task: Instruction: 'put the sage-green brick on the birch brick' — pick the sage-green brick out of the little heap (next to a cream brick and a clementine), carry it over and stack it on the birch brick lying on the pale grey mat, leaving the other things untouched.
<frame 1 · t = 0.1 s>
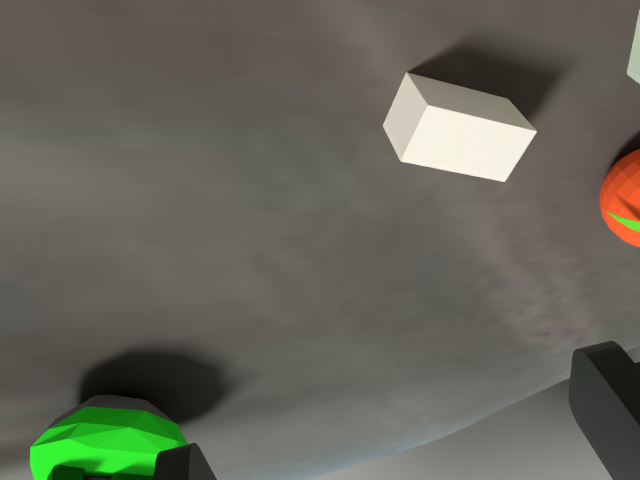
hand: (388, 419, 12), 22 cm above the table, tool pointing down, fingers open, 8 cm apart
clementine: (619, 166, 39), on the table
cream brick: (444, 110, 33), on the table
salad bowl: (115, 405, 48), on the table
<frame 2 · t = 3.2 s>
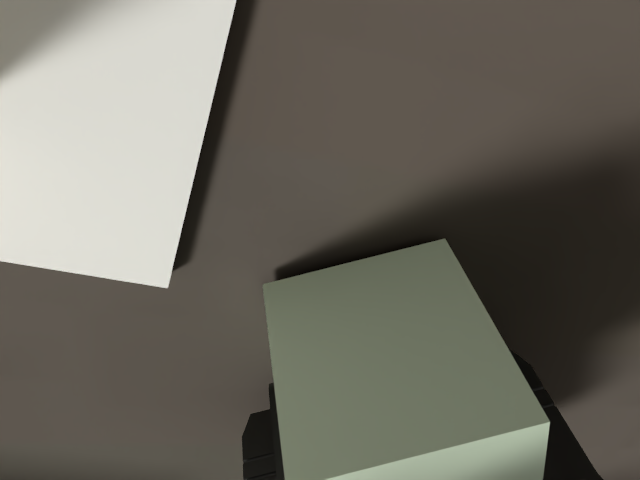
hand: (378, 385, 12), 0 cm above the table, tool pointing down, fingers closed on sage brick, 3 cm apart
sage brick: (377, 377, 12), on the table, touching gripper
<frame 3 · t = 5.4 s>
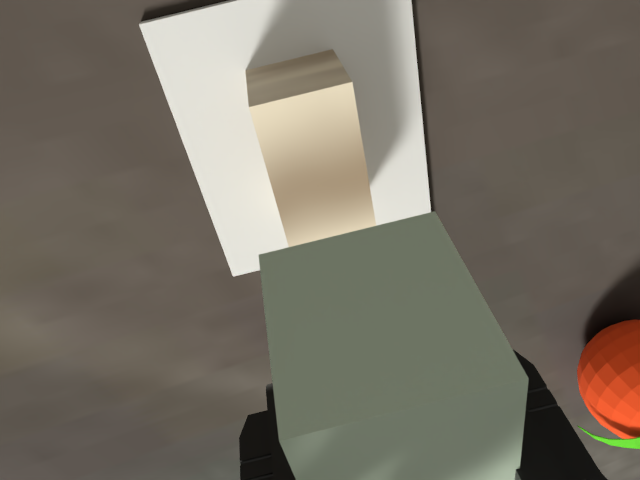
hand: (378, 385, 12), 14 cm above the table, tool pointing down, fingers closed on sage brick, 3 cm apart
sage brick: (369, 347, 13), point 13 cm above the table, touching gripper
clementine: (599, 339, 34), on the table
mat: (306, 137, 24), on the table
birch brick: (307, 141, 23), resting on mat
when the fingers open (6 cm above the table, at t = 7.5 s): sage brick stays where it is, resting on birch brick.
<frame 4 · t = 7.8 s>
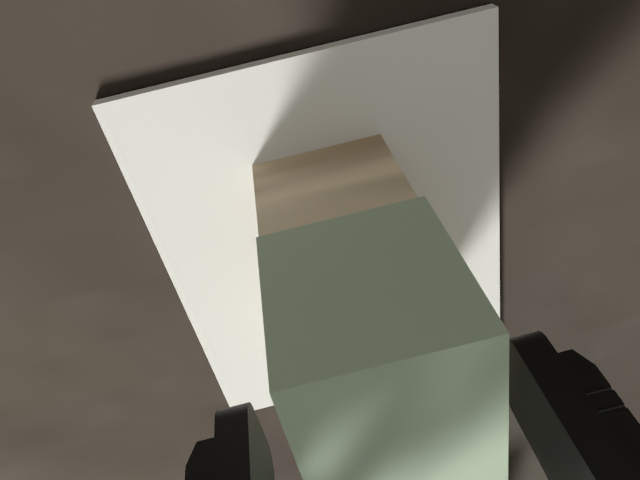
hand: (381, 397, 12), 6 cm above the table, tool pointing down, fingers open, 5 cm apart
sage brick: (365, 337, 13), point 4 cm above the table, touching birch brick
mat: (336, 245, 17), on the table
birch brick: (338, 253, 17), resting on mat, touching sage brick
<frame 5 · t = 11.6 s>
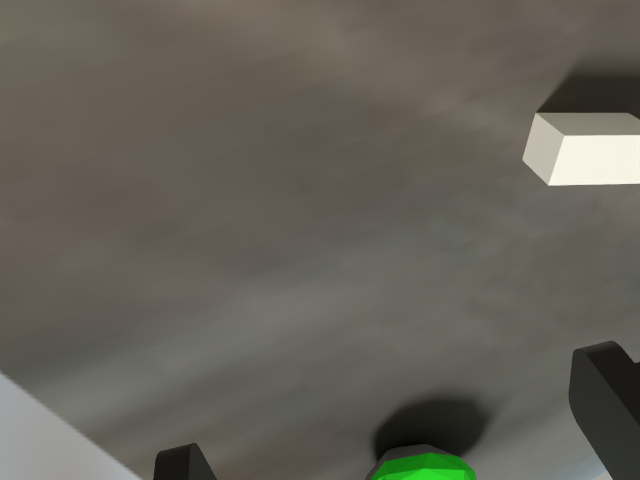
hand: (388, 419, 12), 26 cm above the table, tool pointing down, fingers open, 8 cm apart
cream brick: (573, 135, 39), on the table
salad bowl: (403, 455, 58), on the table
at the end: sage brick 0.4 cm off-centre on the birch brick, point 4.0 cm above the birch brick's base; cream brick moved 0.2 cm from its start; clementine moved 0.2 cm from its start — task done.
